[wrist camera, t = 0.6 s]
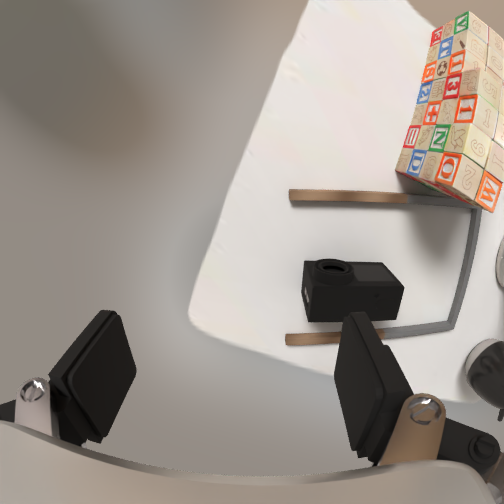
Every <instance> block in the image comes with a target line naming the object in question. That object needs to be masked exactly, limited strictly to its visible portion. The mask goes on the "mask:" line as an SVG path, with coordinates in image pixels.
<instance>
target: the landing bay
mask: <svg viewBox="0 0 504 504" xmlns="http://www.w3.org/2000/svg"><path fill="white" fill-rule="evenodd" d="M404 194H406V193H404ZM406 195H408V198H407V203H408V204H425V205H439V206H452V207H464V208H472V214H471V221H470V228H469V234H468V240H467V245H466V251H465V256H464V260H463V265H462V269H461V274H460V278H459V282H458V286H457V290H456V293H455V297H454V301H453V304H452V307H451V311H450V314H449V317H448V320H447V321H442V322H435V323H428V324H420V325H412V326H403V327H393V328H383V330H384V332H385V336H384V339H388V338H397V337H406V336H413V335H421V334H428V333H434V332H441V331H447V330H453V329H454V327H455V324H456V321H457V318H458V315H459V312H460V308H461V305H462V302H463V298H464V295H465V291H466V288H467V284H468V280H469V276H470V272H471V268H472V264H473V259H474V254H475V249H476V244H477V239H478V233H479V227H480V221H481V213H482V208H479V207H477V206H473V205H471V204H468V203H466V202H463V201H461V200H459V199H456V198H454V197H443V196H432V195H420V194H406Z"/></svg>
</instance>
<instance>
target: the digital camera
mask: <svg viewBox="0 0 504 504" xmlns="http://www.w3.org/2000/svg"><path fill="white" fill-rule="evenodd" d="M403 292H404V286H403V285H402V284H401V282H400V281H399V280H398V279H397V278H396V277H395V276H394V275H393V274H392V272H391V271H390V270H389V269H388V268H387V267H386V266H385V265H384V264H383V263H382V262H345V261H342V260H337V259H321V260H317V261H304V270H303V280H302V290H301V293H302V297H303V302H304V306H305V311H306V315H307V319H308V322H343V319H344V317H348V315H349V313H351V312H366V314H367V315H368V317H369V319H370V321H384V320H396V318H397V314H398V311H399V307H400V303H401V300H402V296H403Z"/></svg>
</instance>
